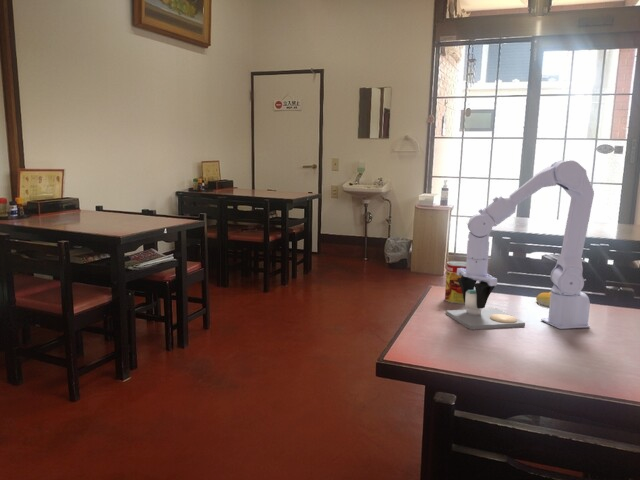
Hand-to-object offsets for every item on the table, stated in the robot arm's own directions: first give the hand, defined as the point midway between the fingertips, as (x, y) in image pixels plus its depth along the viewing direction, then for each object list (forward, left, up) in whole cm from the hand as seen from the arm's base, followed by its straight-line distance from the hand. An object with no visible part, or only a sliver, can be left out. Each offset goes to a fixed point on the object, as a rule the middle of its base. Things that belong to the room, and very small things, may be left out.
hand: (474, 305), depth 139 cm
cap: (0, 0, 0) cm, 0 cm away
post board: (-2, +3, -3) cm, 5 cm away
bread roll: (-32, -9, -4) cm, 33 cm away
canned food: (-4, -17, -4) cm, 18 cm away
